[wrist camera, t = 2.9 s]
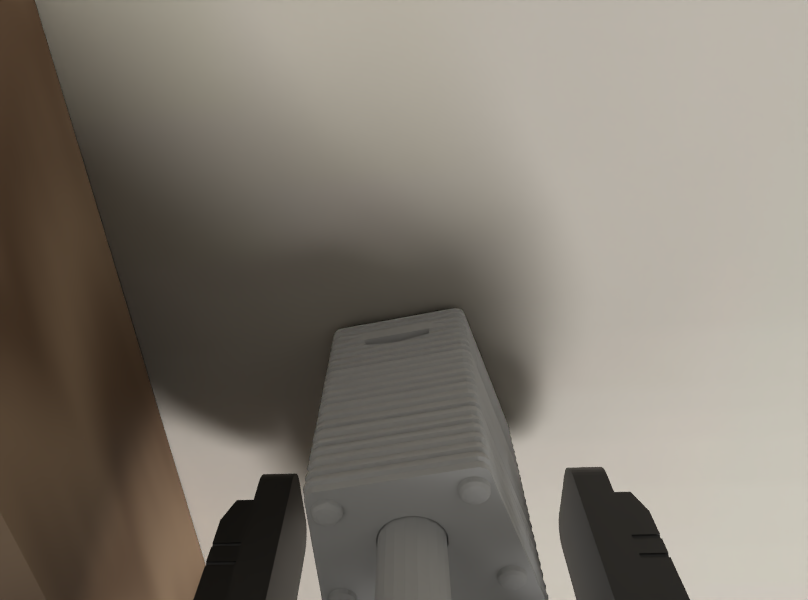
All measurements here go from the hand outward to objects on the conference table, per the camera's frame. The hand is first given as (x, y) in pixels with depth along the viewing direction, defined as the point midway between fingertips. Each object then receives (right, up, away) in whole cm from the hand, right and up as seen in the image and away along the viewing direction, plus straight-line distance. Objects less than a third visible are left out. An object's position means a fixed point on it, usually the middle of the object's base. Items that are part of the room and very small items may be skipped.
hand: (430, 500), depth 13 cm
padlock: (0, +1, +2) cm, 2 cm away
